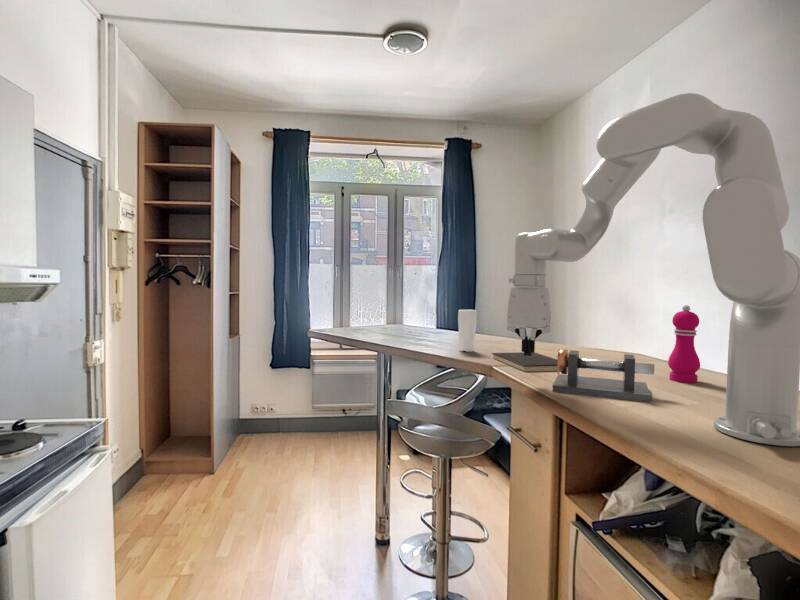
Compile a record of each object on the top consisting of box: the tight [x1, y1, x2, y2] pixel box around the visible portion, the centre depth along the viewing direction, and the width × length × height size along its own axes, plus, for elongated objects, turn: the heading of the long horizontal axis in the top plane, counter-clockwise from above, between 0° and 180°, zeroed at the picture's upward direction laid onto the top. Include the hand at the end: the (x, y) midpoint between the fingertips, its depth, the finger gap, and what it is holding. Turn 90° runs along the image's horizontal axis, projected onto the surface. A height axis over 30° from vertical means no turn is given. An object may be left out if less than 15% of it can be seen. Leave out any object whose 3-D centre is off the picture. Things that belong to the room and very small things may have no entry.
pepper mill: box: [667, 304, 701, 384], centre depth 119 cm, size 7×7×20 cm
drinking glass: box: [457, 309, 478, 353], centre depth 164 cm, size 7×7×15 cm
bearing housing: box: [552, 349, 652, 403], centre depth 107 cm, size 20×14×8 cm
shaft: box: [556, 348, 655, 376], centre depth 106 cm, size 20×6×6 cm, turn 66°
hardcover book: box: [491, 351, 568, 373], centre depth 141 cm, size 16×23×2 cm
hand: (528, 355), depth 114 cm, fingers closed
